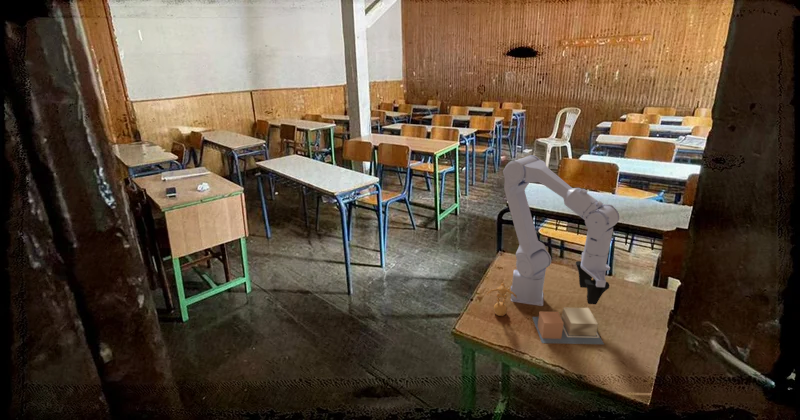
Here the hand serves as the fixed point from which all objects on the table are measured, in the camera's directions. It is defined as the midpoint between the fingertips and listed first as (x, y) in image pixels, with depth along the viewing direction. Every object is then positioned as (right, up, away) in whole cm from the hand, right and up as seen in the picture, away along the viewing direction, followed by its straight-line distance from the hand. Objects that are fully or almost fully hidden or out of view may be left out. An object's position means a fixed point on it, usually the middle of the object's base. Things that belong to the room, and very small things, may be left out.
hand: (587, 294), depth 113 cm
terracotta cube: (-10, -10, +1) cm, 15 cm away
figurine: (-22, -8, +8) cm, 25 cm away
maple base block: (-2, -9, +2) cm, 10 cm away
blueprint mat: (-5, -10, +2) cm, 12 cm away
